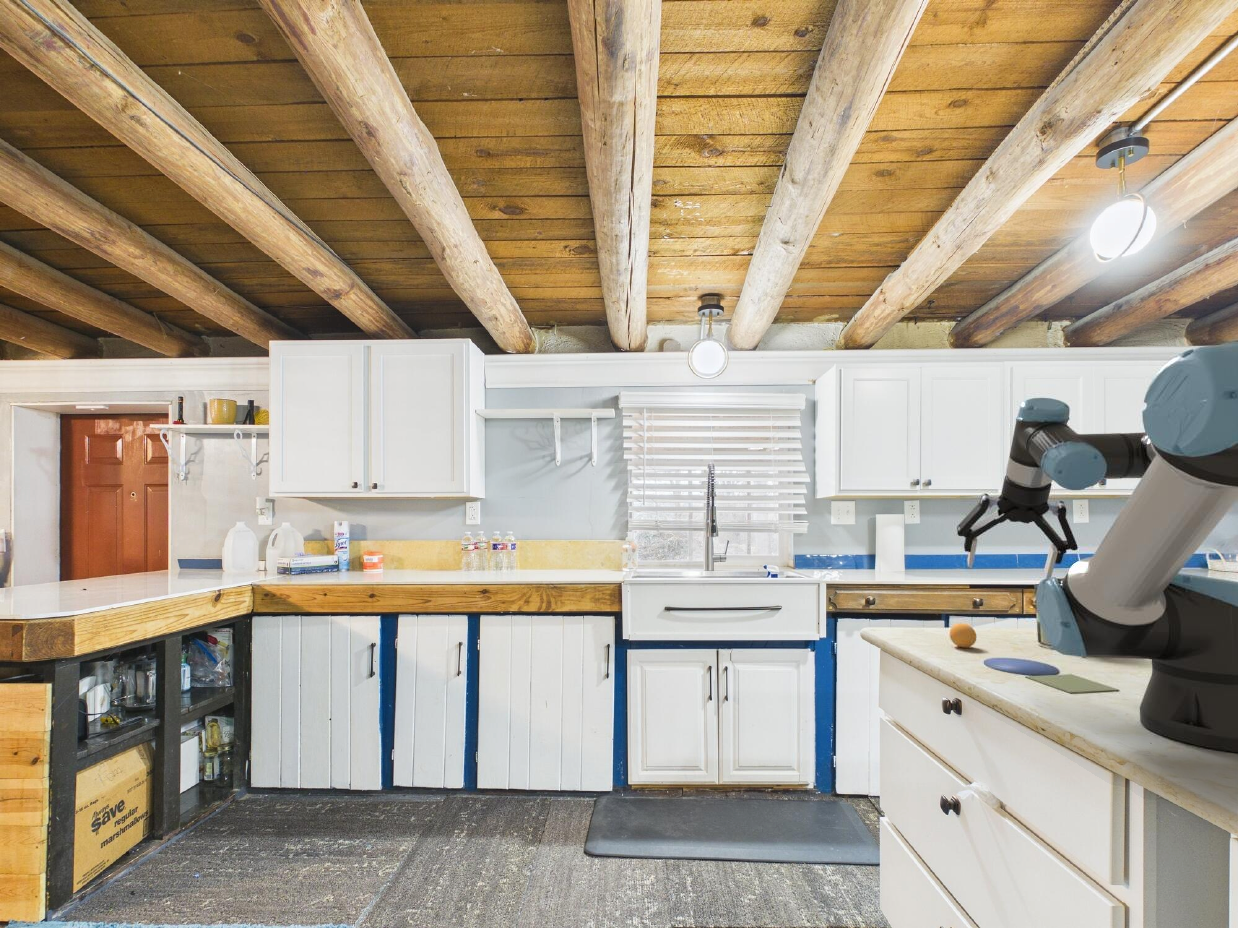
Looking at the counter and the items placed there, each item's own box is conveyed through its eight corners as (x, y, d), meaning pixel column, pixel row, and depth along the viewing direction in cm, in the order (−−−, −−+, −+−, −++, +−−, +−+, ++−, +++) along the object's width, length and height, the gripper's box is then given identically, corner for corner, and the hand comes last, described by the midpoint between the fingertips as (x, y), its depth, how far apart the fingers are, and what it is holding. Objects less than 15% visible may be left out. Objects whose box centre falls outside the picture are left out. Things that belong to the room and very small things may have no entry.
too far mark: (1119, 690, 110) (1119, 689, 110) (1070, 693, 108) (1070, 692, 108) (1071, 675, 120) (1071, 674, 120) (1025, 677, 118) (1025, 676, 118)
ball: (980, 650, 139) (979, 626, 140) (954, 649, 141) (953, 625, 141) (972, 645, 145) (971, 621, 145) (946, 644, 146) (946, 620, 146)
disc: (1072, 677, 118) (1072, 676, 118) (997, 673, 121) (997, 672, 121) (1041, 660, 131) (1041, 659, 131) (974, 657, 134) (974, 656, 134)
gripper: (1104, 475, 113) (1077, 568, 123) (952, 463, 123) (938, 549, 133) (1115, 496, 107) (1085, 591, 117) (954, 480, 117) (939, 569, 127)
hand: (1007, 569), depth 125 cm, fingers open, 13 cm apart
